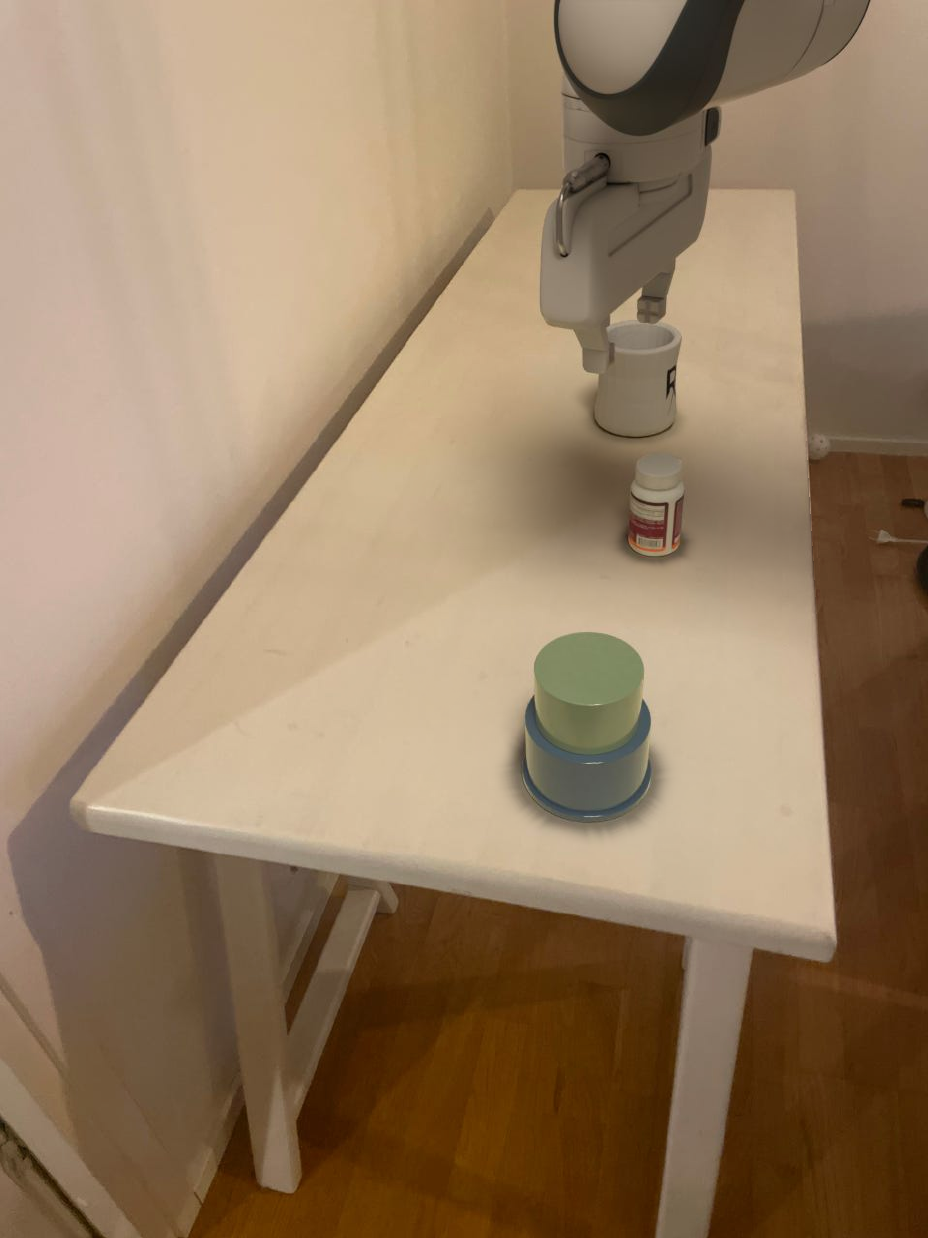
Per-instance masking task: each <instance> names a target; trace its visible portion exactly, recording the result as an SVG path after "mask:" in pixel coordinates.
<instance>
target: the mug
mask: <svg viewBox="0 0 928 1238" xmlns="http://www.w3.org/2000/svg"><path fill="white" fill-rule="evenodd" d="M606 330H607V334H608V339H609V342H611V343H615V352H614V363H613V365H612V366H611V367H610V368H609V369H608V370H607V371H606V372H605V373H603V374H598V381H597V390H596V391H597V392H596V397H595V404H594V418H595V419H594V420H595V421H596V422H597V424H598V425H599V426H600V427H601V428H602V429H604V430H605V431H607V432H609V433H612V434H614V435H617V436H623V437H630V438H631V437H633V438H634V437H637V438H638V437H640V438H641V437H648V436H653V435H656V434H659V433H662V432H664V431H665V430H667V429H669V427H671V426H672V425H673V424H674V422H675V420H676V417H677V412H678V411H677V392H676V386H677V369H678V368H677V367H678V360H679V357H680V350H681V346H682V340H683V336H682V333H681V332H680V330H679V329H678V328H676V327H675V326H674V325H672V324H669V323H666V322H662V321H659V322H657V323H656V324H649V323H641V322H639V321H638V319H630V320H622V321H617V322H614V323H610V325H609V326H608V327H606Z"/></svg>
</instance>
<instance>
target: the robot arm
mask: <svg viewBox="0 0 928 1238" xmlns="http://www.w3.org/2000/svg"><path fill="white" fill-rule="evenodd" d="M871 1H872V0H554V3H553V35H554V41H555V46H556V51H557V55H558V58H559V61H560V66H561V68H562V70H563V72H562V76H561V82H560V101H561V102H560V103H561V105H560V107H561V108H560V109H561V161H562V162H561V163H562V165H561V167H562V171H563V172H564V174H565V176H564V177H563V180H562V188H561V190H560V191H559V192H560V193H559V195H558V197H557V198H555V199H554V200H553V202H551V204H550V205H549V206H548V209H547V211H546V213H545V217H544V220H543V221H544V222H543V227H542V235H541V245H540V246H541V247H540V266H539V269H540V270H539V312H540V314H541V316H542V318H543V320H544V321H545V323H546V324H547V325H548V326H550V327H553V328H559V329H564V330H572V331H573V332H574V334H575V336H576V338H577V340H578V344H579V345H580V347H581V350H582V351H581V353H582V354H581V355H582V356H581V357H582V360H581V361H582V368H583V370H584V371H585V372H586V373H590V374H595V375H599V374H603V373H605V372H606V371H607V370H608V369H609V368H610V367H611V366H612V365H613V363H614V352H615V343H611V342H609V339H608V334H607V330H606V327H608V326H609V325H611V314H613V313H614V312H615V311H616V310H618V309H619V308H620V307H621V306H622V305H623V304H624V303H625V302H627V301H628V300H629V299H631V297H633V296H634V295H635V294H636V293H637V292H639V290H641V295H640V296H639V297H638V298H637V300H636V309H637V311H636V320H638V321H639V322H641V323H649V324H656V323H657V322H661V320H663V318H664V317H665V316H666V314H667V300H668V299H667V297H668V295H669V292H670V287H671V285H672V280H673V277H674V274H675V271H676V261H677V260H676V259H677V258H679V256H680V255H682V254H683V253H684V252H685V251H686V250H688V249H689V248H690V247H691V246H692V245H694V244H695V243H696V242H697V241H698V238H699V237H700V235H701V234H700V233H701V231H702V229H703V225H704V221H705V216H706V213H707V212H706V210H707V204H708V198H709V197H708V196H709V191H710V181H711V173H712V164H713V163H712V161H713V149H712V144H713V143H714V142H715V141H717V140H718V139H719V136H720V133H721V129H722V118H723V117H722V116H723V112H722V111H723V110H722V107H721V105H725V104H727V103H730V102H733V101H737V100H740V99H743V98H746V97H749V96H753V95H755V94H758V93H760V92H763V91H765V90H767V89H771V88H774V87H778V86H780V85H783V84H786V83H788V82H791V81H795V80H797V79H799V78H802V77H804V76H806V75H807V74H809V73H811V72H813V71H815V70H817V69H818V68H821V67H823V66H825V65H826V64H828V63H830V61H832V60H834V59H835V58H836V57H837V56H838V55H840V54H841V52H842V51H844V50H845V48H846V47H847V46H848V45H849V44H850V42H851V41H852V40H853V38H854V37H855V35H856V34H857V32H858V31H859V29H860V28H861V27H860V26H861V25H862V23H863V20H864V19H865V16H866V14H867V12H868V10H869V6H870V3H871Z"/></svg>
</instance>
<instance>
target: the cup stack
mask: <svg viewBox="0 0 928 1238" xmlns="http://www.w3.org/2000/svg"><path fill="white" fill-rule="evenodd" d="M644 680H645V666H644V662H643V659H642V657H641V656H640V654H639V652H638V651H637V650H636V649H635V648H634V647H633V646H632V645H631V644H629V643H628V642H627V641H624V640H623V639H621V638H620V637H619V638H618V637H616V636H613V635H611V634H608V633H607V634H606V633H603V632H594V631H593V632H592V631H580V632H574V633H568V634H564V635H561V636H559V637H557V638H555V639H553V640H551V641H549V642H548V643H547V644H546V645H544V646H543V647H542V648H541V650H540V651H539V652H538V653H537V655H536V657H535V659H534V663H533V690H534V694H533V695H532V697H530V699H529V701H528V703H527V705H526V708H525V712H524V734H525V735H524V737H525V739H524V740H525V752H524V755H523V758H522V763H521V770H522V772H521V773H522V780H523V784H524V786H525V789H526V790H527V792H528V794H529V795H530V797H531V798H532V799H533V801H535V803H536V804H538V805H539V807H541V808H543V809H544V810H545V811H546V812H548V813H550V814H552V815H554V816H556V817H559V818H562V819H565V820H569V821H573V822H577V823H578V822H580V823H599V822H606V821H610V820H613V819H616V818H619V817H621V816H623V815H625V814H627V813H629V812H630V811H632V810H633V809H634V808H636V807H637V806H638V805H639V804H640V803H641V802H642V801H643V800H644V798H645V797H646V795H647V793H648V791H649V788H650V787H651V781H652V764H651V760H650V757H649V754H650V741H651V730H652V729H651V728H652V716H651V711H650V708H649V706H648V704H647V703H646V701H645V699H644V698H643V695H644V694H643V693H644V691H643V690H644Z"/></svg>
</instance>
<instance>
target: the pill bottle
mask: <svg viewBox="0 0 928 1238" xmlns="http://www.w3.org/2000/svg"><path fill="white" fill-rule="evenodd" d="M683 467H684V466H683V463H682V461H681V460H680V458H678V457H676V456H674V455H672V454H669V453H662V452H661V453H660V452H658V453H657V452H656V453H649V454H646V455H644V456H642V457H640V458H639V459H638V460H637V461H636V463H635V475H634V476H635V478H634V479H633V481H632V483H631V485H630V489H629V490H630V491H629V493H630V495H629V514H628V520H629V521H628V538H627V539H628V544H629V546H630V548H632V550H634V551H635V552H636V553H638V554H640V555H643V556H648V557H662V556H667V555H669V554H672V553H674V552H675V551H676V550H677V549H678V548H679V546H680V543H681V534H682V524H683V523H682V522H683V512H684V501H685V492H686V491H685V490H686V489H685V485H684V482H683V481H682V478H683Z"/></svg>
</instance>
